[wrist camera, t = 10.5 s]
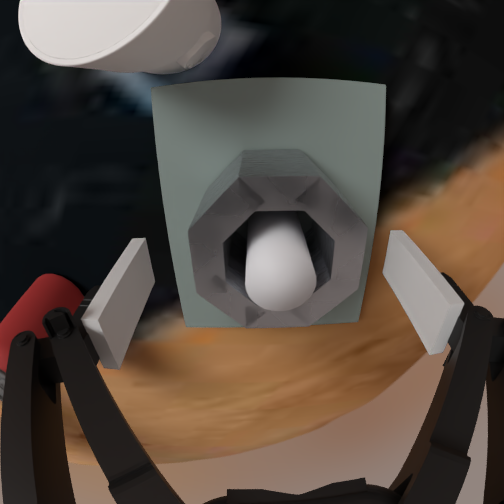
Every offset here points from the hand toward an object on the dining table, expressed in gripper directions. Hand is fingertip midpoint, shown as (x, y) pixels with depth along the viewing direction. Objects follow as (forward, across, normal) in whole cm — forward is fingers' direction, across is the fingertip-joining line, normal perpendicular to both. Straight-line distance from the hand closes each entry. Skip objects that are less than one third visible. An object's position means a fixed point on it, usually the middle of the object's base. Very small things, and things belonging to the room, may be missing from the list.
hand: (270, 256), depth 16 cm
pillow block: (+6, 0, 0) cm, 6 cm away
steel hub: (+4, 0, +1) cm, 4 cm away
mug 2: (+7, -8, +15) cm, 18 cm away
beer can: (+7, -20, -8) cm, 22 cm away
